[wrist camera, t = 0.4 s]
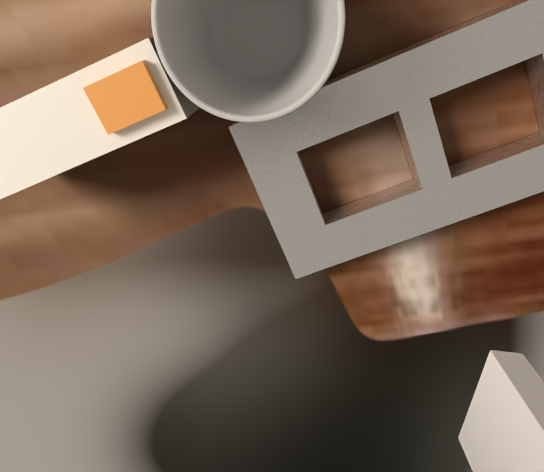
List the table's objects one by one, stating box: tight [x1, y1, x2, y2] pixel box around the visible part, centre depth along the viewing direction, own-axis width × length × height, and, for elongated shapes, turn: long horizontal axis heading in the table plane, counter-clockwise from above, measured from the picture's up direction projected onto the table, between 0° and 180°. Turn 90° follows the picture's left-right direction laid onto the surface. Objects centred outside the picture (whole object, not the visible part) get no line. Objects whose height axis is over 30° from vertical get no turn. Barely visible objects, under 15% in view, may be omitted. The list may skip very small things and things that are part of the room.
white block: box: [0, 38, 200, 199], centre depth 28 cm, size 4×14×10 cm, turn 112°
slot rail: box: [229, 0, 544, 279], centre depth 32 cm, size 12×23×2 cm, turn 113°
